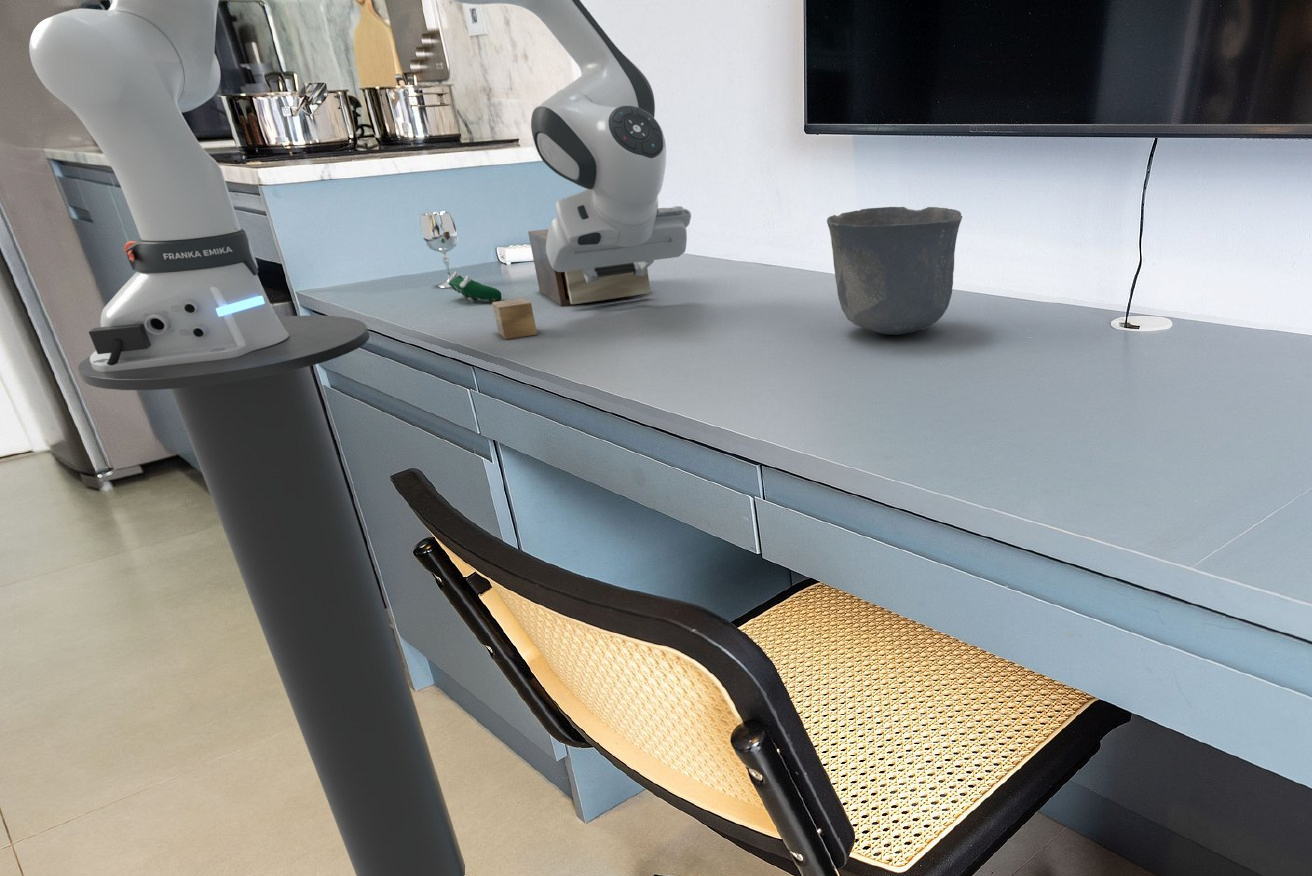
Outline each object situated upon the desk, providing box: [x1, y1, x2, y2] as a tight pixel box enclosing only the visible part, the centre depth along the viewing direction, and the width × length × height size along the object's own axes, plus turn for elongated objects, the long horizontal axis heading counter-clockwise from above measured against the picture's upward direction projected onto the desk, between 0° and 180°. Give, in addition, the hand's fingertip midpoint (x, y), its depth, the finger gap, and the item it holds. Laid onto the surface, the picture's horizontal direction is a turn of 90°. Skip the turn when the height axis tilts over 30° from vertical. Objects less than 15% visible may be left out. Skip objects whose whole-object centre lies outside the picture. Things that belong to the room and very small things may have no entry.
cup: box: [826, 206, 963, 336], centre depth 129 cm, size 18×18×15 cm
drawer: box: [561, 263, 652, 305], centre depth 157 cm, size 17×13×8 cm
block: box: [491, 297, 538, 340], centre depth 140 cm, size 4×4×4 cm
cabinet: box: [527, 228, 643, 307], centre depth 163 cm, size 14×14×10 cm
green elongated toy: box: [448, 271, 502, 303], centre depth 163 cm, size 9×4×6 cm
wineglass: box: [419, 211, 459, 289], centre depth 174 cm, size 6×6×12 cm
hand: (613, 275), depth 152 cm, fingers closed on drawer, 6 cm apart
